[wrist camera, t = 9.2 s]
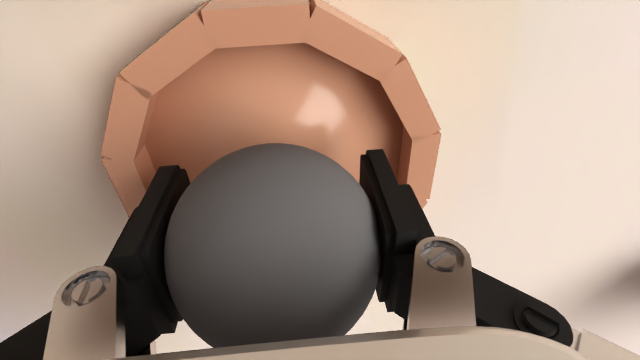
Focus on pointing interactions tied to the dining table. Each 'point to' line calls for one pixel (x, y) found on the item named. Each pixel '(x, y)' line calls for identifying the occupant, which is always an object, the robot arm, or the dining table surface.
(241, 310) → the ball
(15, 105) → the dining table surface
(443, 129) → the dining table surface
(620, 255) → the dining table surface
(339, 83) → the bowl
